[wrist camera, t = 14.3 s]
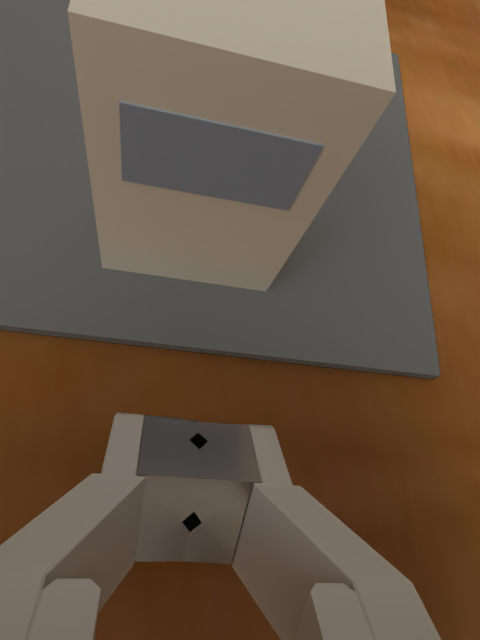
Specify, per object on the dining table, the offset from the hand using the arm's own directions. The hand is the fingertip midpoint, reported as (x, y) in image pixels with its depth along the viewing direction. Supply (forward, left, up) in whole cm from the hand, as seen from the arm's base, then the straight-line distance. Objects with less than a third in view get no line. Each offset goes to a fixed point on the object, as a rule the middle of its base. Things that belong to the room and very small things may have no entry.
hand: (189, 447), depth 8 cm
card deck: (0, +8, -6) cm, 10 cm away
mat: (0, +13, -6) cm, 14 cm away
